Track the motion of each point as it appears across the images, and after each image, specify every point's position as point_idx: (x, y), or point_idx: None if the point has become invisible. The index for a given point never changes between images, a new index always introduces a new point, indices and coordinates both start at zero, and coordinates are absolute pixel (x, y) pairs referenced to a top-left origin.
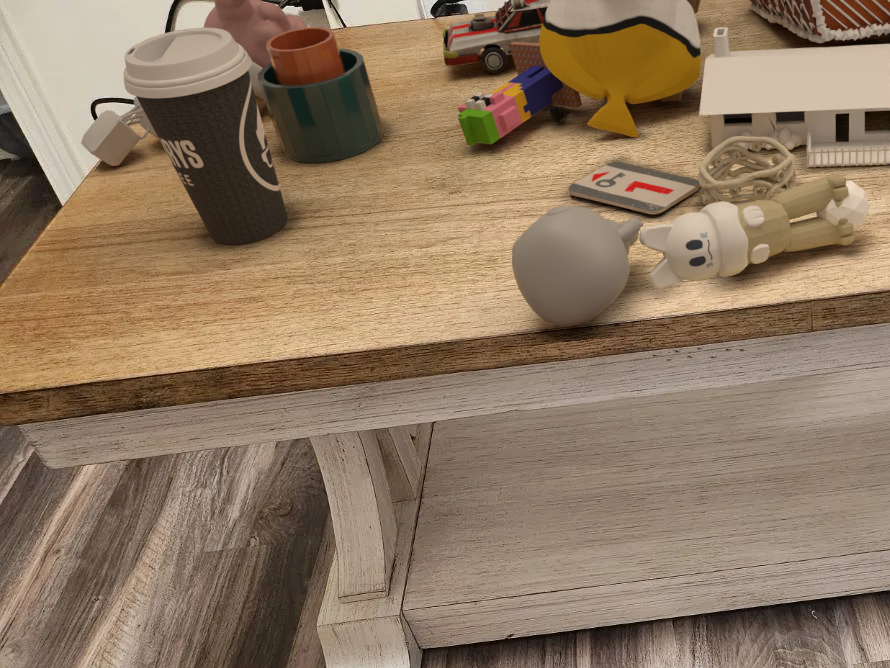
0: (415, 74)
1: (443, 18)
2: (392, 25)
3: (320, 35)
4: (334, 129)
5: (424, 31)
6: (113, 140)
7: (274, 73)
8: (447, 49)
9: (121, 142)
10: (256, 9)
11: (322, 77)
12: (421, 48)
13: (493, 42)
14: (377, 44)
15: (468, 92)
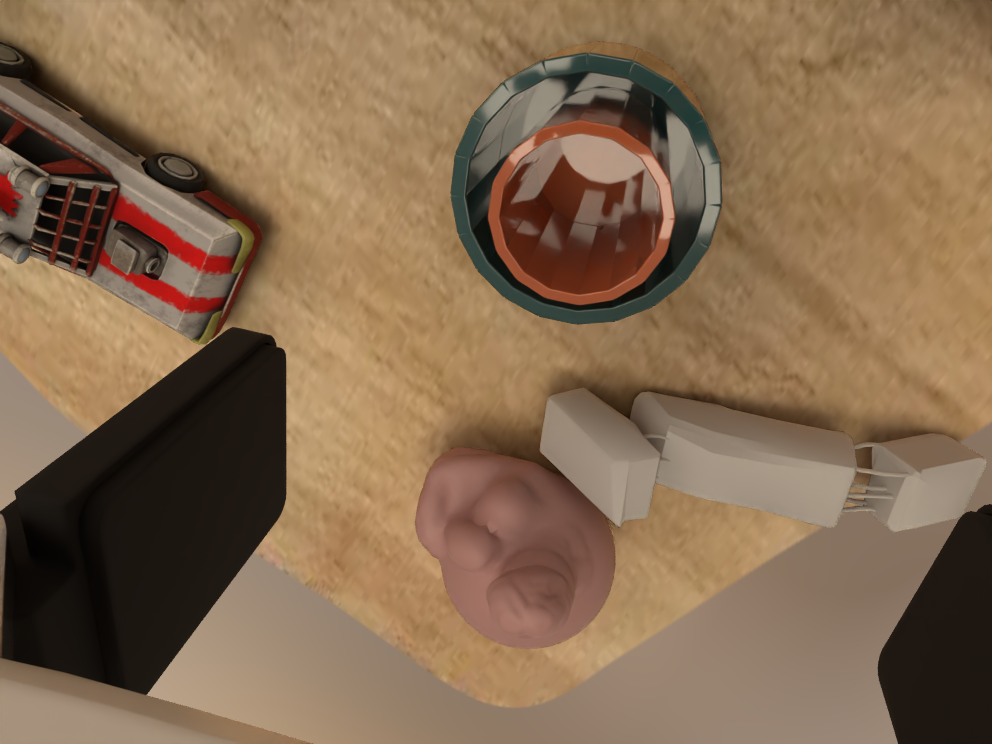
0: (313, 316)
1: None
2: None
3: (509, 240)
4: (636, 52)
5: None
6: (935, 456)
7: (633, 291)
8: (230, 283)
9: (919, 449)
10: (496, 561)
11: (598, 110)
12: None
13: (147, 177)
14: (302, 493)
15: (275, 137)
